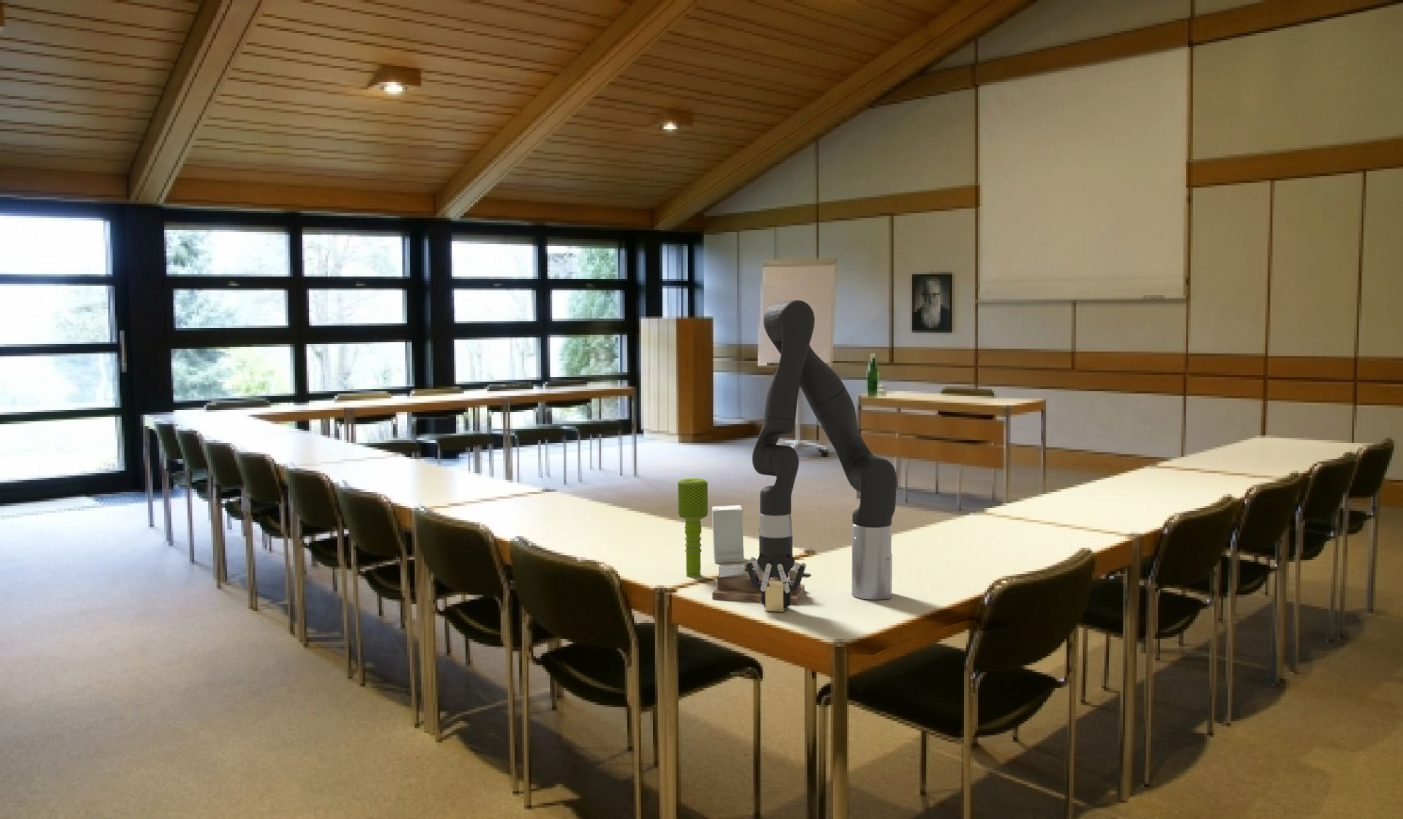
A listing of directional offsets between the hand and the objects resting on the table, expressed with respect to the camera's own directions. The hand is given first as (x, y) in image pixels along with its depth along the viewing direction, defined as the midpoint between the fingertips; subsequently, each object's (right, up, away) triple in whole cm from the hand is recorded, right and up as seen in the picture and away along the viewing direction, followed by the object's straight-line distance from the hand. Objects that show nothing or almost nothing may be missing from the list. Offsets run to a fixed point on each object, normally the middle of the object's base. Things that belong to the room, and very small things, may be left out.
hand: (776, 606), depth 229 cm
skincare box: (-10, +3, +46) cm, 47 cm away
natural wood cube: (0, 0, 0) cm, 0 cm away
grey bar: (-4, +5, +11) cm, 13 cm away
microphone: (-19, +2, +31) cm, 36 cm away
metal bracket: (+1, +2, +30) cm, 30 cm away
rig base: (-3, 0, +12) cm, 13 cm away
